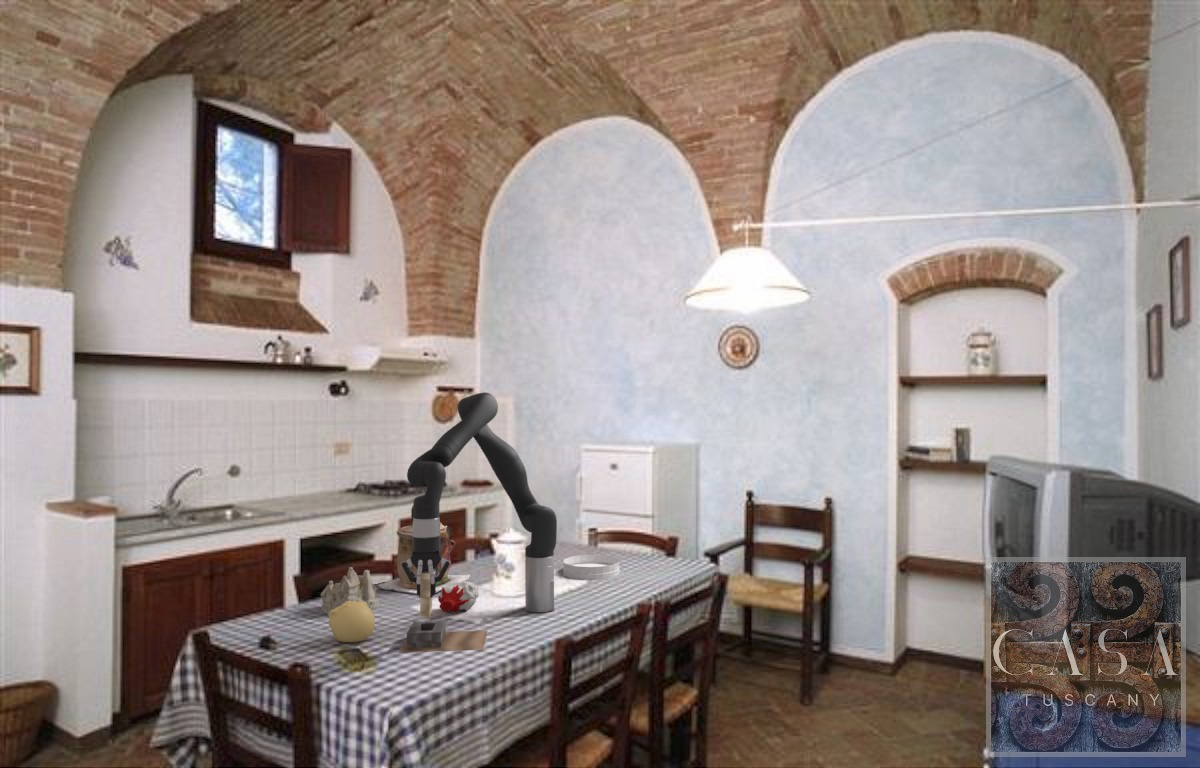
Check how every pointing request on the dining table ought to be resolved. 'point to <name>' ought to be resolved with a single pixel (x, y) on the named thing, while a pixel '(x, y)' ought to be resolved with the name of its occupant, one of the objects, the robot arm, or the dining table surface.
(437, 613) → the dining table surface
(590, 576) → the dish
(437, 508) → the robot arm
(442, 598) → the red-white knobbly ovoid
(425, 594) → the beige rectangular bar
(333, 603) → the ceramic cottage
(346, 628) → the cream sphere
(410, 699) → the dining table surface
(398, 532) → the cookie jar
